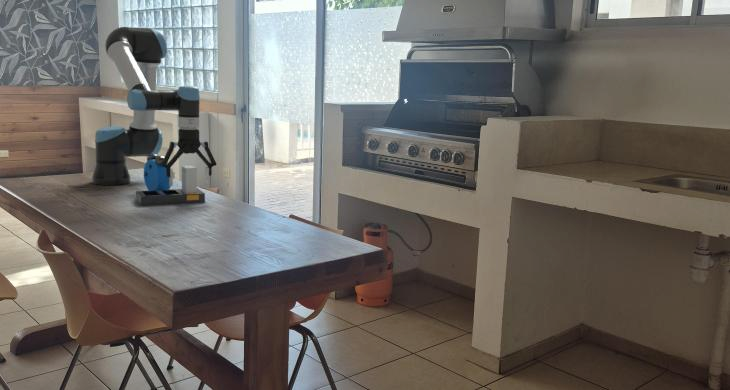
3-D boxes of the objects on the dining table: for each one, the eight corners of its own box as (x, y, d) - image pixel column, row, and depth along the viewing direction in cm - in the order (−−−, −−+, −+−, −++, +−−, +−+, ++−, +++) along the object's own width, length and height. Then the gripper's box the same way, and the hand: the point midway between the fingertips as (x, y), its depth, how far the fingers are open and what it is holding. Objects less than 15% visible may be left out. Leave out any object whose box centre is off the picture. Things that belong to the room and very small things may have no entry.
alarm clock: (173, 194, 261) (172, 156, 259) (158, 195, 257) (157, 157, 254) (157, 189, 271) (156, 152, 268) (143, 190, 266) (142, 153, 264)
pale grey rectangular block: (181, 196, 253) (181, 165, 251) (192, 196, 255) (192, 165, 253) (185, 200, 247) (185, 168, 245) (197, 199, 249) (196, 168, 247)
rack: (135, 200, 247) (135, 190, 247) (197, 197, 258) (197, 187, 257) (141, 206, 238) (140, 196, 237) (205, 202, 248) (205, 193, 248)
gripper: (156, 129, 237) (157, 188, 241) (224, 129, 249) (224, 185, 253) (152, 127, 244) (153, 184, 248) (219, 127, 255) (219, 182, 259)
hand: (189, 185), depth 250 cm, fingers open, 13 cm apart
